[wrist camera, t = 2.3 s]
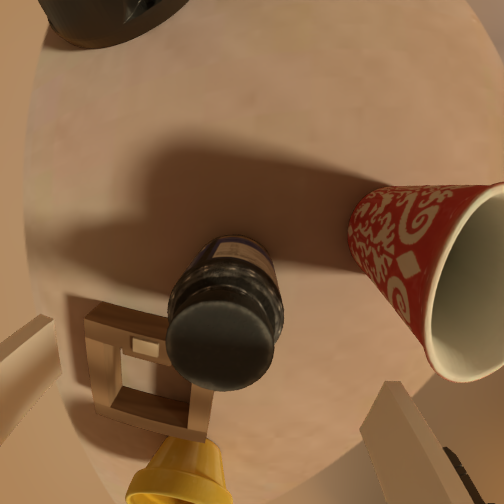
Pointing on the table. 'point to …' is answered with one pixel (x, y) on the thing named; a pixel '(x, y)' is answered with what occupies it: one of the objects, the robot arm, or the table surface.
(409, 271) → the mug
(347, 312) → the table surface
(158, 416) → the wooden tray
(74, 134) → the table surface
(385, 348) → the table surface
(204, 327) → the pill bottle
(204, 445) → the plant pot
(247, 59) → the table surface
